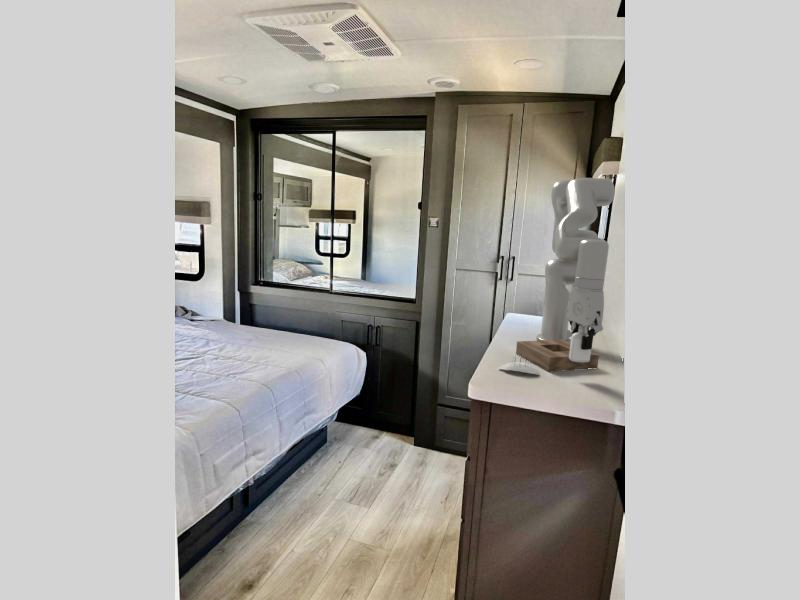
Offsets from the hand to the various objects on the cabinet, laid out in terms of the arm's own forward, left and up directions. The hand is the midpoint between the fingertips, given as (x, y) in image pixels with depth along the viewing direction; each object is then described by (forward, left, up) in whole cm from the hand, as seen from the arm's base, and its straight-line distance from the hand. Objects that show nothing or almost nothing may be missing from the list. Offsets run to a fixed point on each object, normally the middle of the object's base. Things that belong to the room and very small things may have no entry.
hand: (580, 346), depth 128 cm
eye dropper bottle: (0, 0, -5) cm, 5 cm away
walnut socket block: (-4, -15, -10) cm, 18 cm away
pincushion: (+15, -8, -10) cm, 19 cm away
